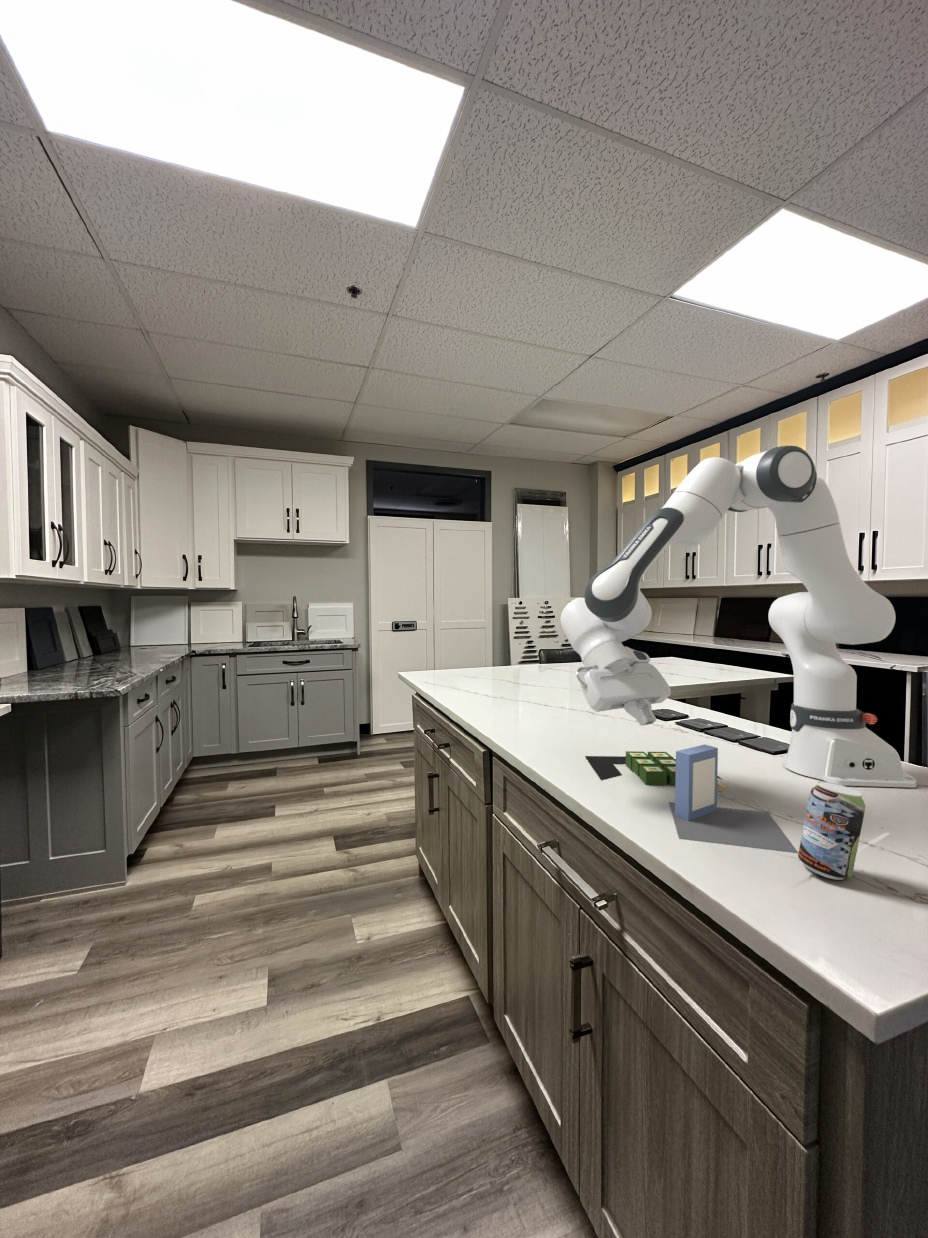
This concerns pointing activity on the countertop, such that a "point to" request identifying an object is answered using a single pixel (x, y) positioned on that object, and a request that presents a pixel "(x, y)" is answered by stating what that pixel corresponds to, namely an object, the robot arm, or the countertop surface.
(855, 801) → the beverage can
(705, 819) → the rubber mat
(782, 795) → the countertop surface
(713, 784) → the card deck
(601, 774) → the sushi
